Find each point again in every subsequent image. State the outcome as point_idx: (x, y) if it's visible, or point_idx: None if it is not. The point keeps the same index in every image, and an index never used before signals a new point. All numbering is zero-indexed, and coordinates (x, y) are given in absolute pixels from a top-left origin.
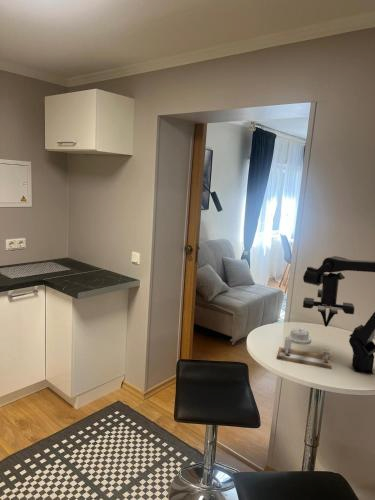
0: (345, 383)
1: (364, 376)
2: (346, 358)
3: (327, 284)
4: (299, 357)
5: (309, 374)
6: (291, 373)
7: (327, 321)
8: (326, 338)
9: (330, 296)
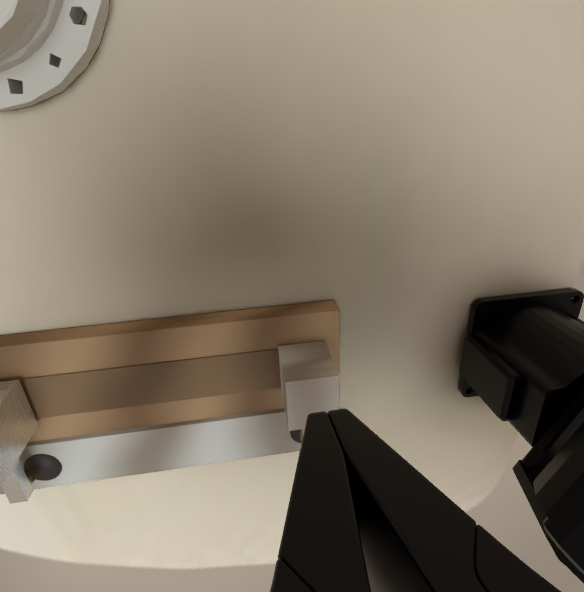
0: None
1: None
2: (445, 231)
3: None
4: (129, 455)
5: (227, 528)
6: (141, 561)
7: (378, 589)
8: None
9: None
